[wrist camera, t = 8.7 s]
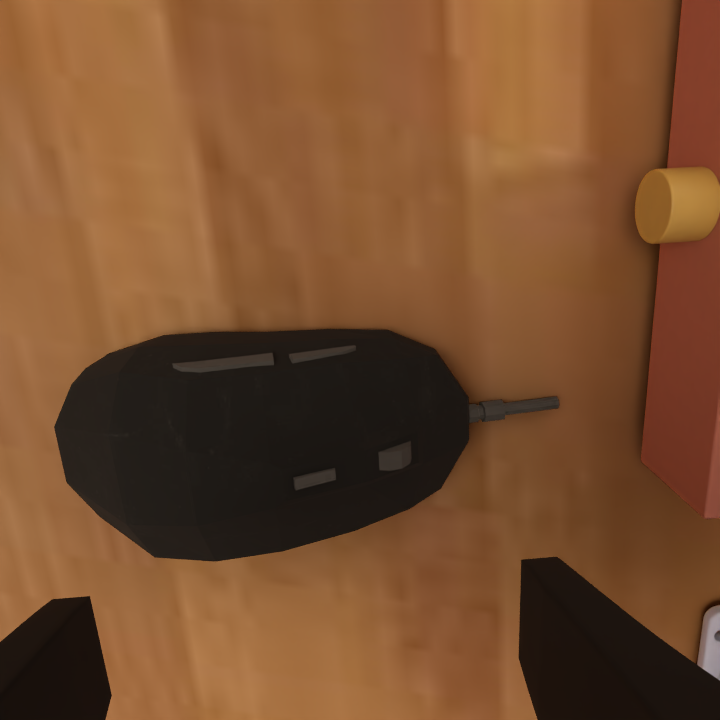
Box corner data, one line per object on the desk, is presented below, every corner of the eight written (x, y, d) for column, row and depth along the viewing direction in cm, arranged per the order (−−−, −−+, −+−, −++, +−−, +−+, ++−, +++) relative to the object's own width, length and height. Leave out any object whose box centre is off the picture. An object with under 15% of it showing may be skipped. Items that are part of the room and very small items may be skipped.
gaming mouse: (552, 489, 20) (606, 564, 16) (93, 531, 20) (38, 618, 16) (557, 301, 18) (620, 335, 14) (51, 340, 18) (-23, 387, 14)
